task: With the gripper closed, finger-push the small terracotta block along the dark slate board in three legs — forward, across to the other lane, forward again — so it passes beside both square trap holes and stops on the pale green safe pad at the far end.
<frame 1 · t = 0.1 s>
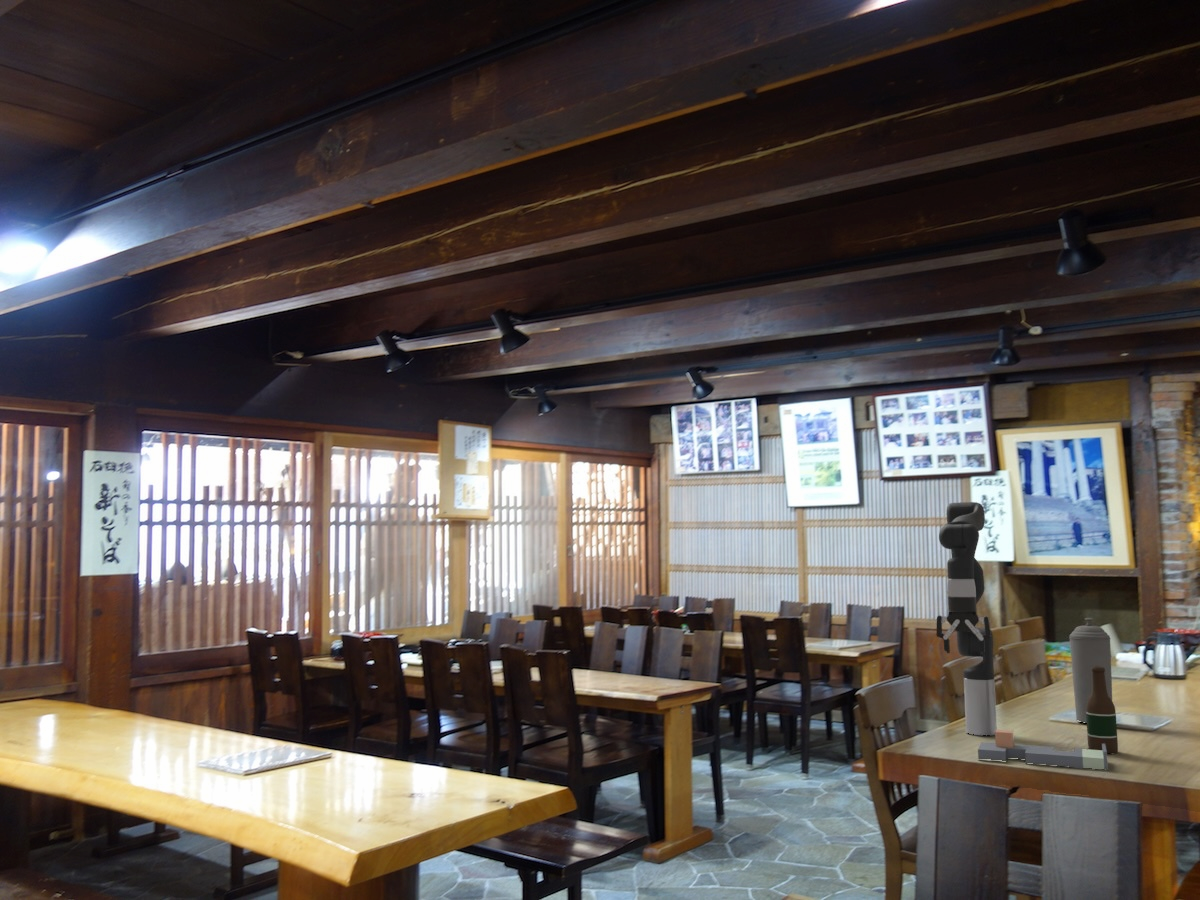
hand: (964, 653, 274), 29 cm above the table, tool pointing down, fingers open, 8 cm apart
board: (1040, 761, 269), on the table
beer bottle: (1103, 752, 281), on the table
canister: (1094, 723, 329), on the table
block: (1005, 745, 275), point 3 cm above the table, touching board
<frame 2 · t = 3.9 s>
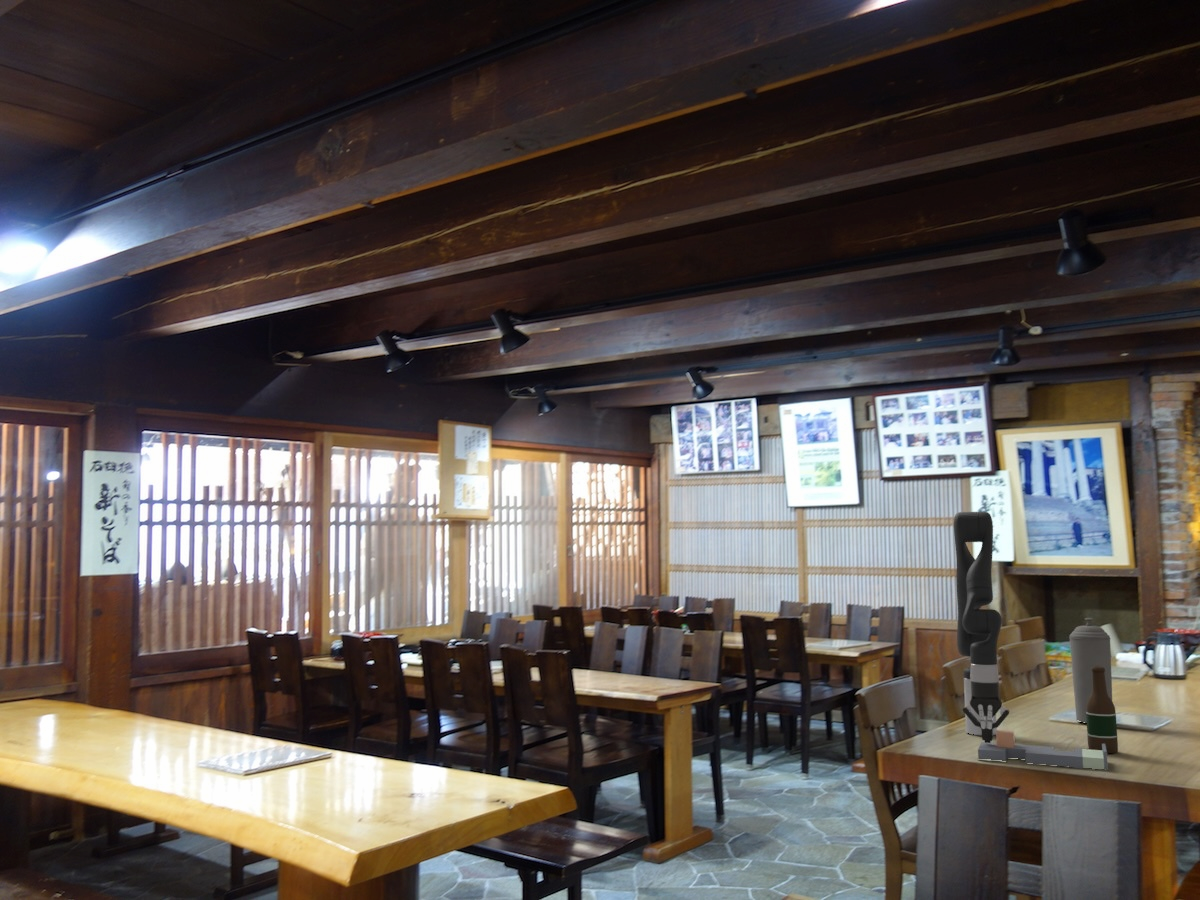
hand: (987, 742, 277), 4 cm above the table, tool pointing down, fingers closed
block: (1005, 745, 275), point 3 cm above the table, touching board, gripper
everything else where it was.
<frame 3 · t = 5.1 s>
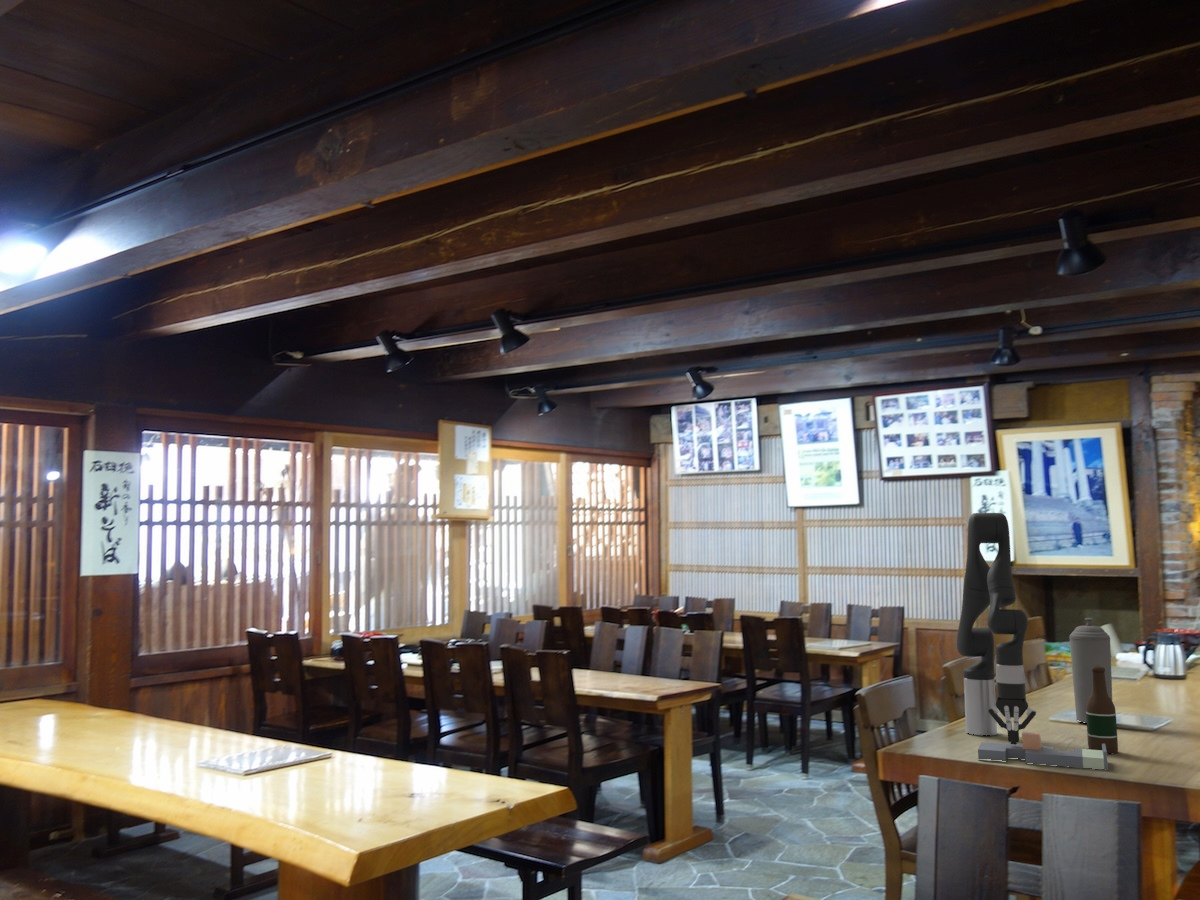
hand: (1013, 743, 274), 4 cm above the table, tool pointing down, fingers closed
block: (1032, 747, 272), point 3 cm above the table, touching board, gripper
everything else where it was.
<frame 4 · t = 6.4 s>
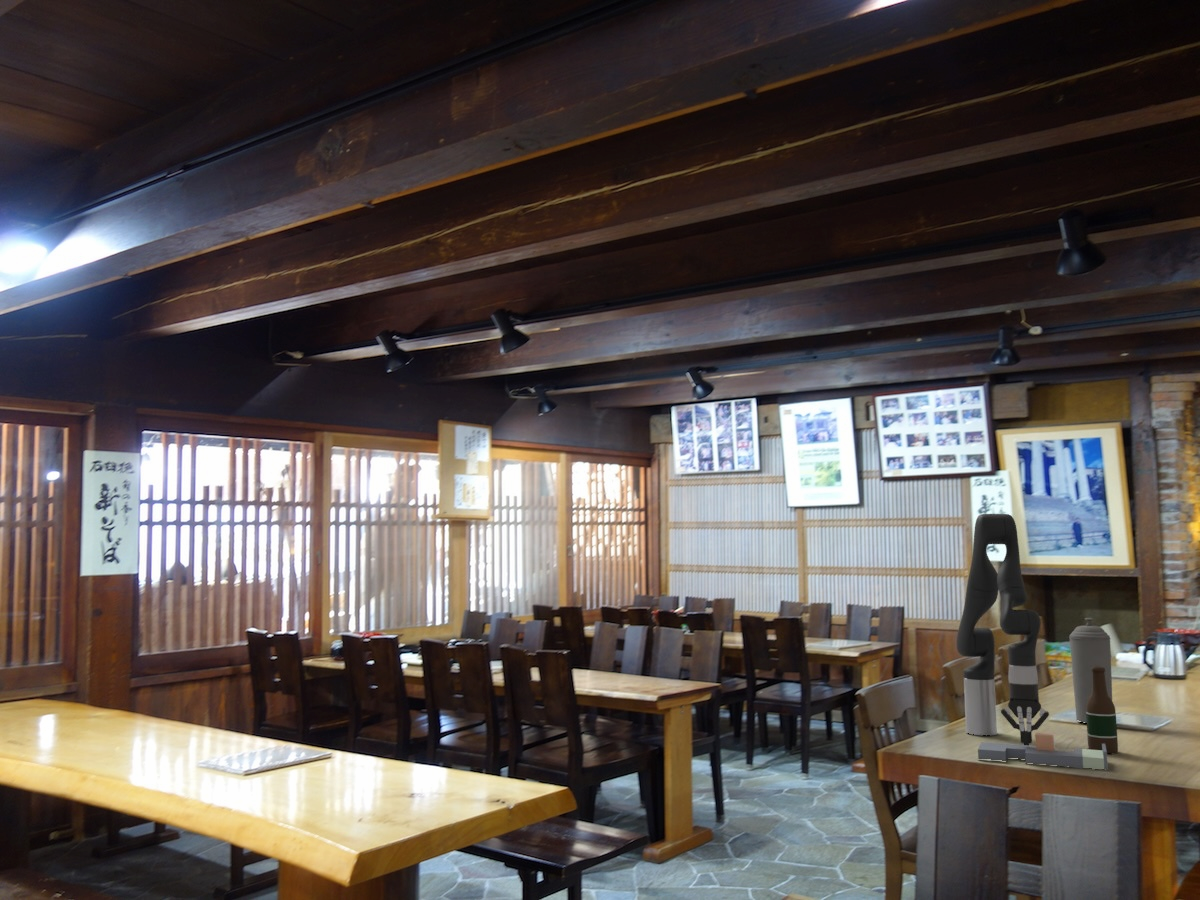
hand: (1026, 744, 273), 4 cm above the table, tool pointing down, fingers closed
block: (1045, 748, 271), point 3 cm above the table, touching board, gripper
everything else where it was.
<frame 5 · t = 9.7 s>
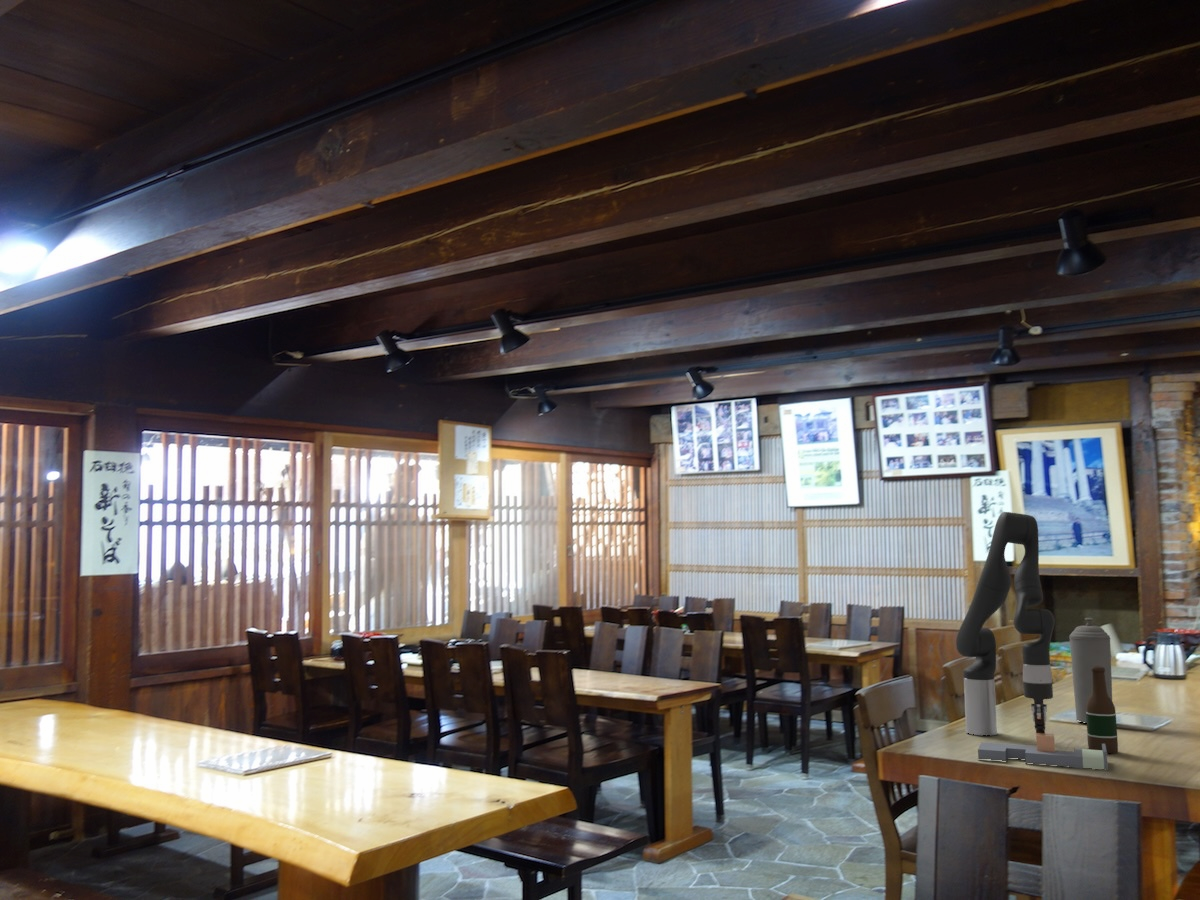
hand: (1041, 743, 274), 4 cm above the table, tool pointing down, fingers closed
block: (1045, 749, 269), point 3 cm above the table, touching board, gripper
everything else where it was.
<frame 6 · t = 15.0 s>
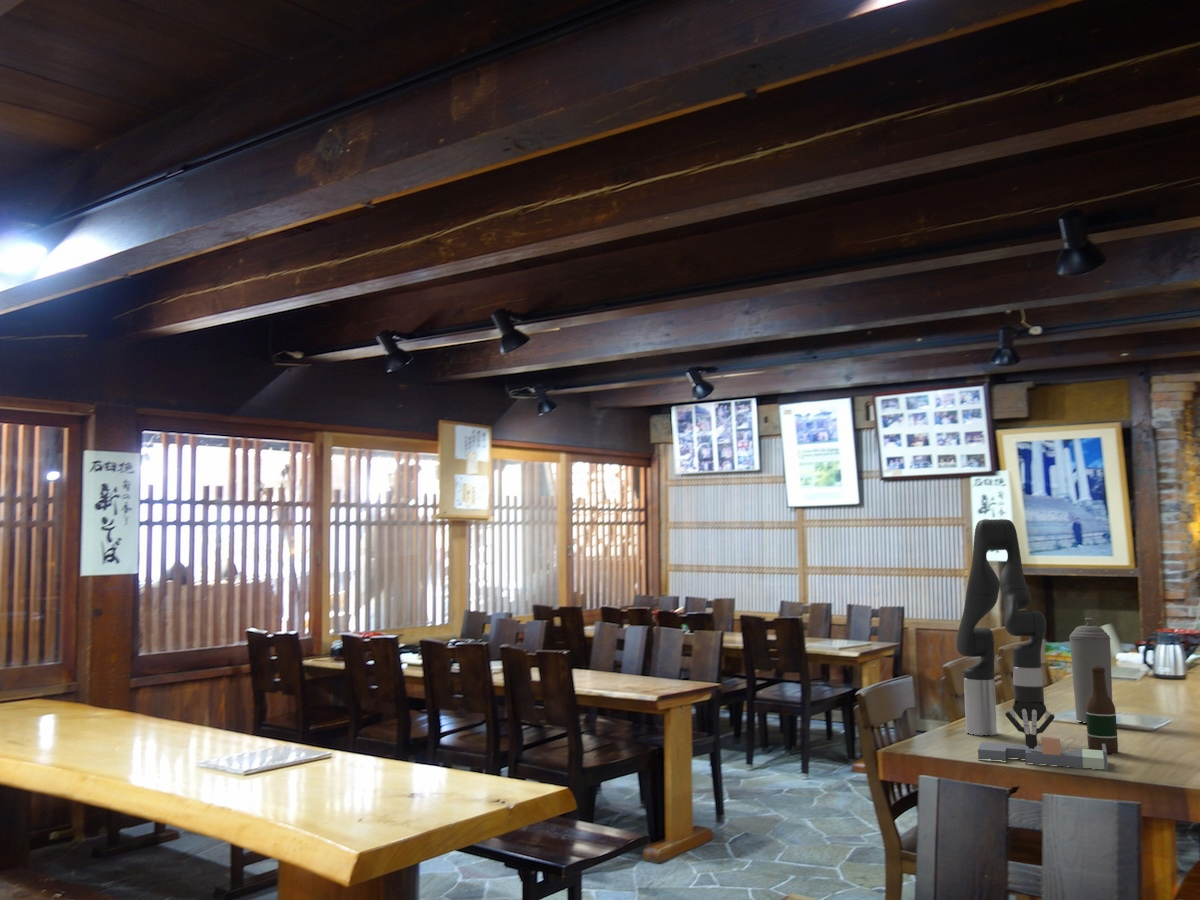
hand: (1031, 748, 268), 4 cm above the table, tool pointing down, fingers closed
block: (1051, 753, 265), point 3 cm above the table, touching board
everything else where it was.
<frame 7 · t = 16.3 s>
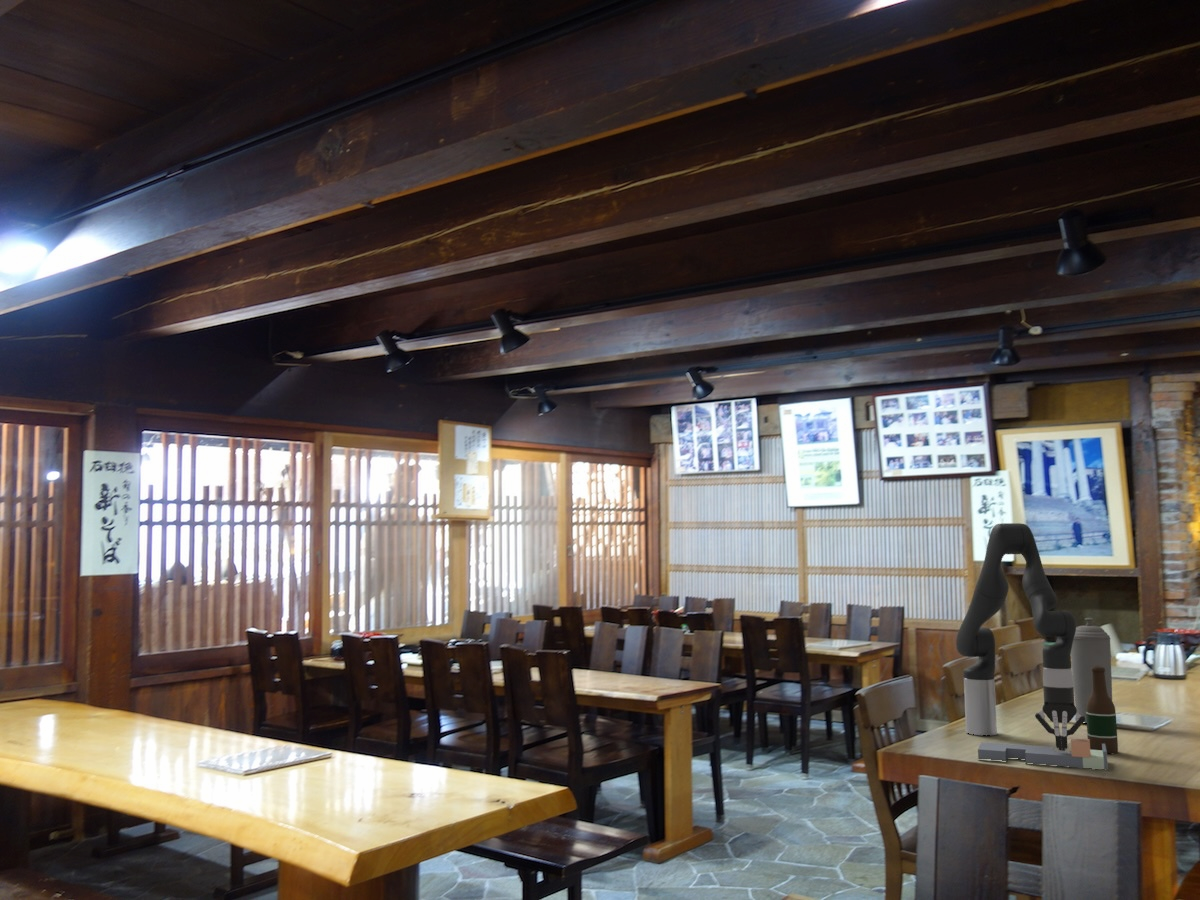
hand: (1061, 750, 265), 4 cm above the table, tool pointing down, fingers closed
block: (1081, 755, 261), point 3 cm above the table, touching board, gripper
everything else where it was.
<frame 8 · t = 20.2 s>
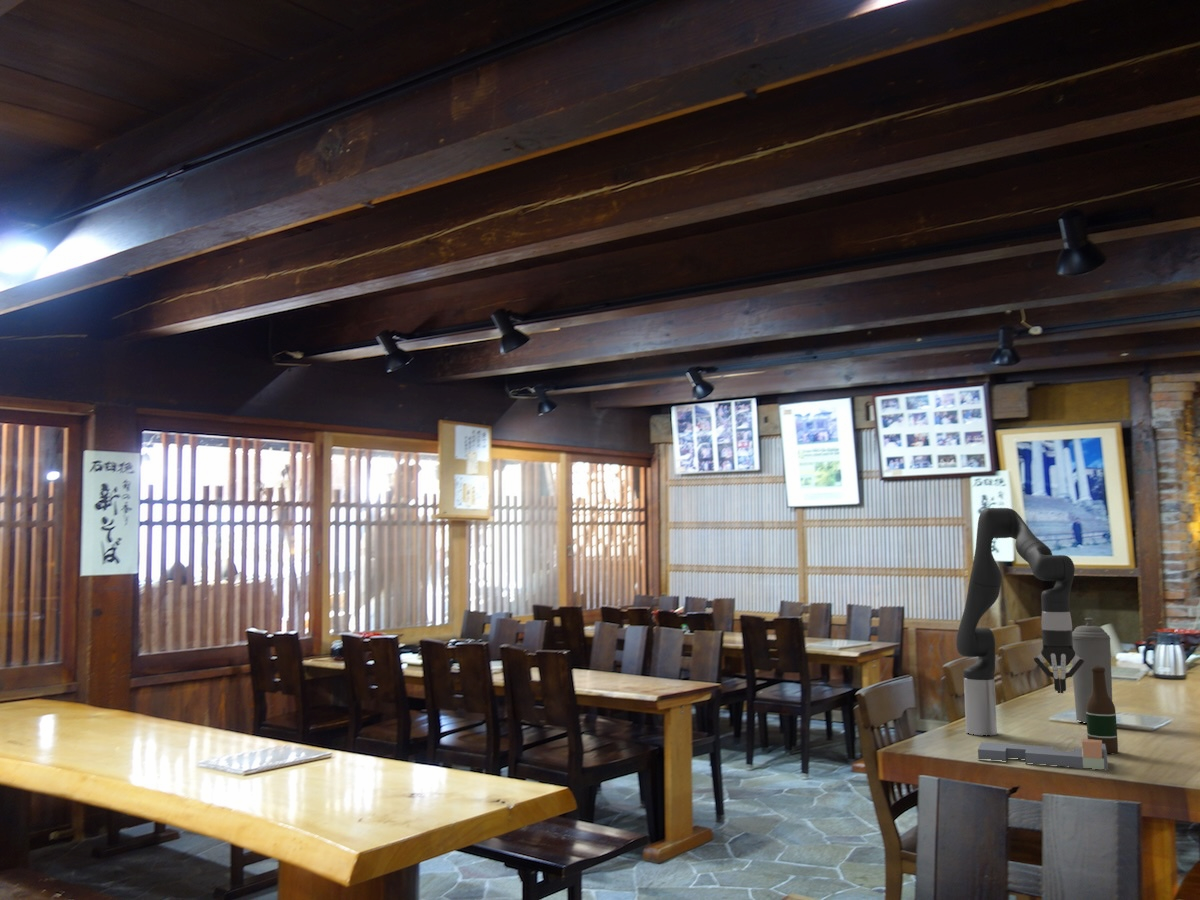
hand: (1060, 692, 266), 19 cm above the table, tool pointing down, fingers closed
block: (1093, 756, 260), point 3 cm above the table, touching board
everything else where it was.
at the end: block inside the target area on the board (4.0 cm from its centre), point 3.0 cm above the board's base; block tilted 0° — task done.
